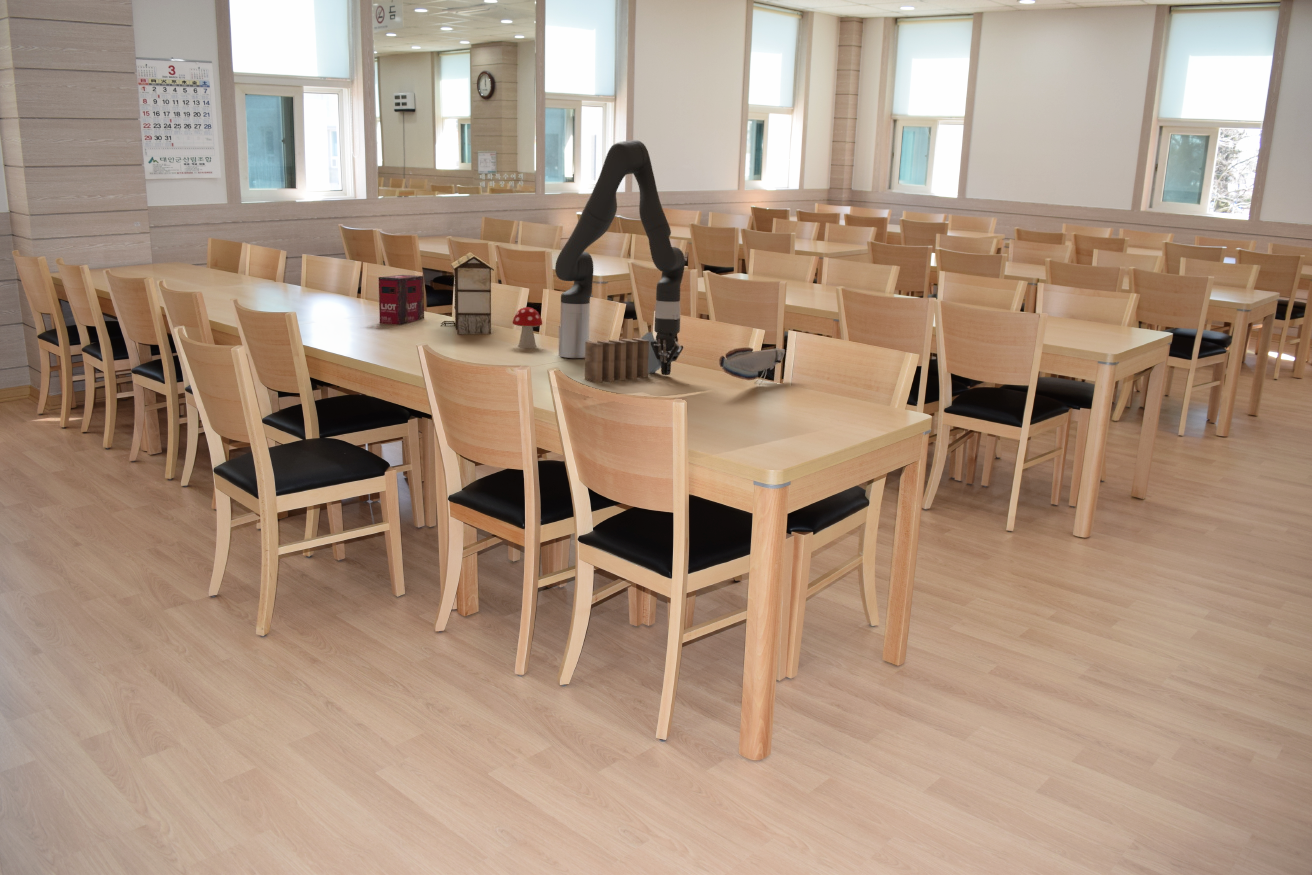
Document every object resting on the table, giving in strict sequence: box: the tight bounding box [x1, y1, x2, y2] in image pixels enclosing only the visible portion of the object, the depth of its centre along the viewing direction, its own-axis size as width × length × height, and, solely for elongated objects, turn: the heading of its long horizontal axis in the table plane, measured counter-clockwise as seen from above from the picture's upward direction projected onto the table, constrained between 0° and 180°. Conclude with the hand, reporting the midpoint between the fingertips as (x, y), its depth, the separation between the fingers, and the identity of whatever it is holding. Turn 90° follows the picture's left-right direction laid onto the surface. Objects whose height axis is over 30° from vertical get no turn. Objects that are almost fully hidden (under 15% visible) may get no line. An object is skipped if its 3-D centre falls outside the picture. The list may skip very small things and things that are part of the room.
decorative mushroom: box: [512, 306, 543, 349], centre depth 336 cm, size 10×9×15 cm
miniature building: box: [440, 252, 495, 335], centre depth 365 cm, size 25×19×30 cm
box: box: [378, 274, 425, 326], centre depth 379 cm, size 16×9×20 cm, turn 162°
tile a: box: [631, 337, 649, 378], centre depth 298 cm, size 6×2×11 cm, turn 39°
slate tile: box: [640, 332, 661, 374], centre depth 303 cm, size 6×2×11 cm
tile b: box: [620, 338, 638, 380], centre depth 296 cm, size 6×2×11 cm, turn 39°
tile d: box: [596, 340, 615, 382], centre depth 290 cm, size 6×2×11 cm, turn 39°
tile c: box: [608, 339, 626, 381], centre depth 293 cm, size 6×2×11 cm, turn 39°
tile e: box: [584, 340, 603, 384], centre depth 288 cm, size 6×2×11 cm, turn 39°
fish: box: [718, 347, 786, 386], centre depth 288 cm, size 34×7×12 cm, turn 137°
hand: (665, 374), depth 298 cm, fingers closed
